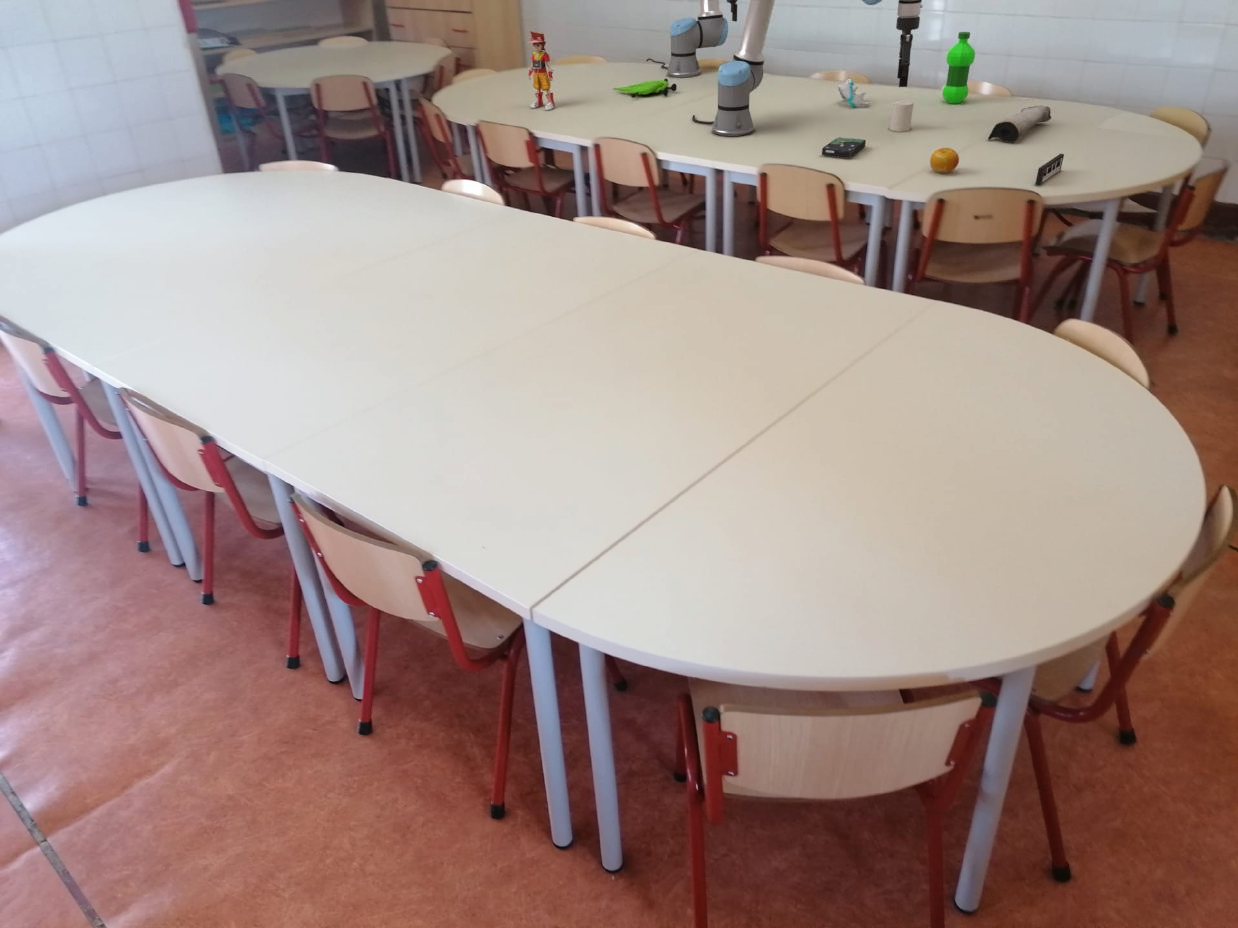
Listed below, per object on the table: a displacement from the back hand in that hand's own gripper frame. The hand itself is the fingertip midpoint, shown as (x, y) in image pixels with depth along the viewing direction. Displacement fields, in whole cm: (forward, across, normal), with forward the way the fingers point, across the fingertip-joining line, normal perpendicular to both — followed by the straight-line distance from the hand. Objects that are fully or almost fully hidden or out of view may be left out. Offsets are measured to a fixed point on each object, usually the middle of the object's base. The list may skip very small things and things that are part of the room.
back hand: (748, 19), depth 376 cm
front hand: (+10, +8, -90) cm, 91 cm away
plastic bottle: (+27, +51, -72) cm, 92 cm away
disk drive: (+26, -24, -102) cm, 108 cm away
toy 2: (+28, -40, +23) cm, 54 cm away
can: (+26, +10, -90) cm, 94 cm away
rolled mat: (+26, +40, -118) cm, 127 cm away
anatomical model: (+27, +19, -50) cm, 60 cm away
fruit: (+26, -12, -137) cm, 140 cm away
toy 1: (+28, -86, +24) cm, 94 cm away
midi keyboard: (+26, +9, -160) cm, 162 cm away
